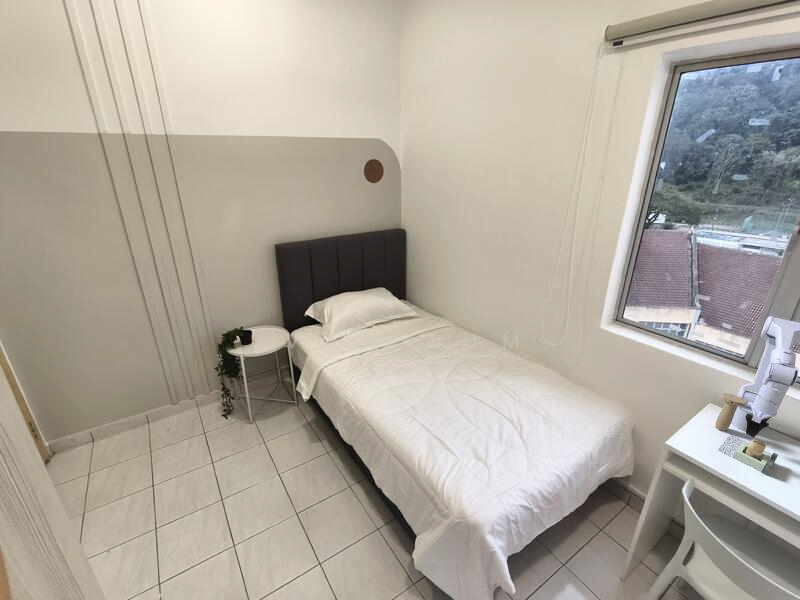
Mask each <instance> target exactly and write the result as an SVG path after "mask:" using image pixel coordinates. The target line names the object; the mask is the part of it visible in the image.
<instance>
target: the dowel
mask: <svg viewBox="0 0 800 600" xmlns="http://www.w3.org/2000/svg"><path fill="white" fill-rule="evenodd" d="M748 445H749V446H748V448H747V450H746V452H744V453H745V454H747V455H749V456H751V457H753V458H755V459H757V460H759V459H760V457H761V455H762V453H763V451H764V452H765V450H766V447H767V445H766V444H765V443H764V442H763V441H761V440H758V439H755V438H753V439H751V441H750V443H748ZM759 461H760V460H759Z"/></svg>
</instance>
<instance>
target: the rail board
mask: <svg viewBox="0 0 800 600" xmlns="http://www.w3.org/2000/svg"><path fill="white" fill-rule="evenodd" d="M731 438H732V439H734V440H731ZM744 442H745V444H748V442H747V441H745V440H743V439H742V440H741V438H739V437H736V436H734V435H732V434H729V436H728V437H727V438H726V439H725V441H724V442H723V444H721V445H720V448H718V449H717V451H718V452H722V454H725V455H726V456H728V457H730V458H732V459H734V460H737V462H740V463H742V464H745V465H747V464H746V463H744V462H742V461H740V460H738V459H736V458H734V457H733V456H734V454H735V452H736V451H737V449H738V448H739V447H740V445H741V444H742V443H744ZM733 443H734V446H733V452H731V451H732V448H731V445H729V444H733ZM727 451H728V453H726V452H727ZM763 452H764V453H765V450H764V451H763ZM766 454H768V455H770V456H771V457H770V459H769V460H768V462H767V464H766V465H765V467H764V469H763V470H762V471H760V473H761V474H763V475H764V476H768V474H769V473H770V471H771V469H772V467H773V465H774V464H775V462H776V460H777V458H778V456H779V454H778V453H776V452H772V453H769V452H766ZM759 461H762V460H760V459H759ZM748 466H749V468H751V466H750V465H748ZM752 469H754V470H757V469H756V468H754V467H752Z"/></svg>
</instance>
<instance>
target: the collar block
mask: <svg viewBox="0 0 800 600" xmlns="http://www.w3.org/2000/svg"><path fill="white" fill-rule="evenodd" d="M740 444H741V445H740ZM740 444H739V445H740V446H738V448H736V450H737V451H734V452H735V454H734V453H733V455H732V456H733V457H734V458H733V459H735V458H736V459H735V460H737V461H738V460H739V462H740V461H741V462H742V463H744V464H745V463H746V464H745V465H747V466H750V467H751V468H754V469H755V468H756V469H755V470H757V471H759V472H761V471H763V470H764V468H765V466H766V464H767V462H768V461H769V459H770V458H771V456H772V455H771V454H770V455H769V453H768V454H767V452H765V451H764V452H763V453H762V455H761V457H760V460H757V459H755V458H753V457H751V456H749V455H747V454H745V452H746V450H747V448H748V446H749V444H748V443H746V442H743V443H742V442H741V443H740ZM761 460H762V461H761Z"/></svg>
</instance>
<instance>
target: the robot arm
mask: <svg viewBox="0 0 800 600" xmlns="http://www.w3.org/2000/svg"><path fill="white" fill-rule="evenodd" d="M760 338H761V339H762V340H764V341H765V348H764V350H763V353H762V355H761V358H760V362H759V365H758V368H757V369H756V373H755V374H754V375H755V376H754V379H753V381H752V382H750V383H745V384H742V385H741V386H740V388H739V390H738V391H737V393H736V396H738V397H740V398H742V399H744V400H745V401H746V403H745V405H744V406H738V407H737V408H736V411H735V414H734V417H733V420H732V422H731V424H730V425H732V426H733V427H734V428H736V429H737V430H739V431H742V432H744V433H746V435H748V436H750V437H751V438H755V437H756V436H757V435H758V434H759V433H760V431H762V430H763V429H766V428H767V427H768V426H769V425H770V423H768V421H769V420H770V419H772V418H773V417H776V416H777V414H778V410H779V408H780V407H781V404H782V402H783V400H784V399H785V397H786V394H787V392H788V391H789V389H790V387H793V386H794V385H795V384H796V382H797V380H798V377H799V368H798V366H796V361H797V353H796V352H795V351H793V347H794V346H795V345H796V344H798V343H799V342H800V322H798V321H795V320H794V321H793V320H788V319H784V318H779V317H775V316H772V315H770V316H768V317H767V318H766V320H765V322H764V324H763V327H762V329H761V334H760Z"/></svg>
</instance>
